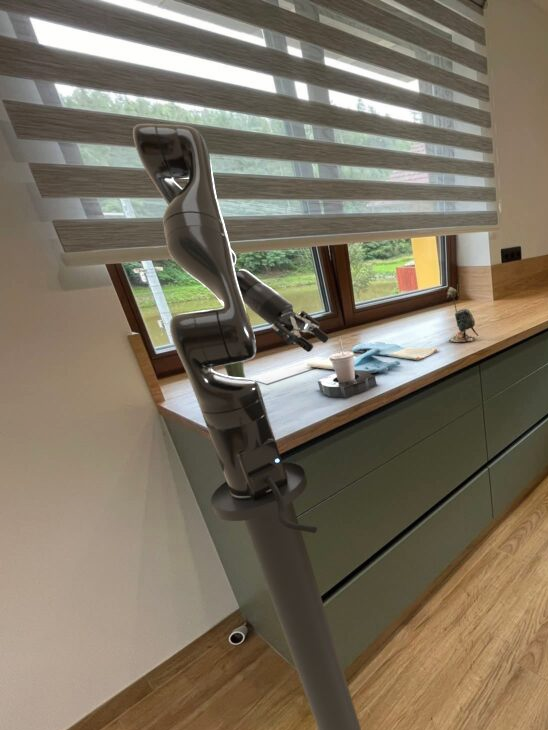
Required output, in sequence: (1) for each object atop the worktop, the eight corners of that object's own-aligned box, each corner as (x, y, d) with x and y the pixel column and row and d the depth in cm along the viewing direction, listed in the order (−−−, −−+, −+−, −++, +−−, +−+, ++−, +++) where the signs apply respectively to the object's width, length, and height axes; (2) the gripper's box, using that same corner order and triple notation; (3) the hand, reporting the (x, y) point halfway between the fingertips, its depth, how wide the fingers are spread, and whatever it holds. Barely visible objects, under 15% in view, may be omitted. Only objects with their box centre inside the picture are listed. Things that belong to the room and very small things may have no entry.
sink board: (382, 383, 120) (380, 374, 119) (342, 400, 110) (340, 389, 109) (353, 377, 127) (351, 367, 126) (314, 392, 117) (311, 382, 116)
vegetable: (238, 408, 109) (214, 332, 102) (236, 403, 112) (212, 329, 105) (258, 403, 111) (235, 328, 104) (255, 398, 115) (232, 326, 107)
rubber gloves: (368, 344, 161) (365, 327, 159) (438, 351, 147) (436, 333, 144) (307, 367, 138) (302, 348, 136) (383, 378, 124) (379, 357, 122)
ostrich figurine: (469, 345, 151) (463, 288, 144) (445, 342, 157) (439, 287, 150) (483, 339, 158) (478, 284, 150) (459, 336, 164) (454, 283, 156)
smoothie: (365, 385, 119) (355, 337, 114) (346, 393, 114) (335, 343, 109) (350, 382, 123) (340, 335, 117) (331, 390, 118) (320, 341, 112)
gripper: (257, 298, 103) (313, 342, 106) (290, 289, 117) (339, 328, 120) (243, 320, 106) (298, 362, 109) (277, 309, 119) (325, 347, 122)
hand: (319, 344), depth 114 cm, fingers open, 8 cm apart
